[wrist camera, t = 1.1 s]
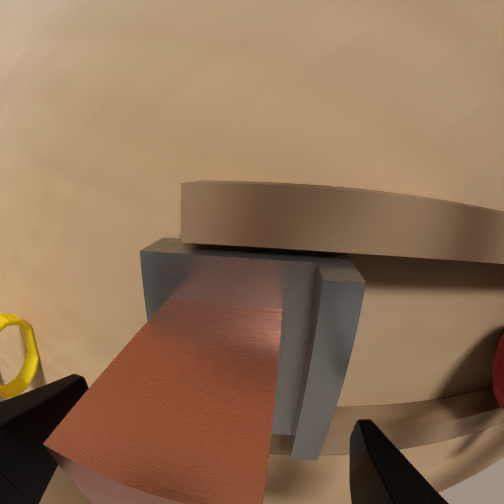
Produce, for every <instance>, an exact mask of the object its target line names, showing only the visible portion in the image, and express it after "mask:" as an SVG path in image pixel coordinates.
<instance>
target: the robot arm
mask: <svg viewBox="0 0 504 504" xmlns="http://www.w3.org/2000/svg"><path fill="white" fill-rule="evenodd" d="M88 389H89V388H88V385H87V383H86V380H85V378H84V377H82V376H80V375H77V374H72V375H70V376H67V377H65V378H62V379H60V380H57V381H55V382H52V383H50V384H47V385H45V386H42V387H39V388H37V389H34V390H32V391H29V392H26V393H24V394H21V395H18V396H16V397H13V398H10V399H7V400H5V401H2V402H0V504H39V502H40V501H41V498H42V496H43V494H44V492H45V490H46V488H47V486H48V484H49V482H50V480H51V478H52V476H53V474H54V472H55V470H56V468H57V466H58V463H57V462H56V461H55V459H54V458H53V457H52V456H51V454H50V453H49V452H48V450H47V449H46V447H45V446H44V445H43V443H44V442H45V441H46V440H47V438H48V437H49V436H50V435H51V434H52V432H53V431H54V430H55V429H56V427H57V426H58V425H59V424H60V422H61V421H62V420H63V419H64V418H65V416H66V415H67V414H68V413H69V412H70V410H71V409H72V408H73V407H74V406H75V404H76V403H77V402H78V401H79V400H80V398H81V397H82V396H83V395H84V394H85V393H86V391H87V390H88ZM350 492H351V501H352V504H449V503H447V502H446V501H445V500H444V499H443V498H442V497H441V495H439V493H438V492H437V491H436V490H434V488H433V487H432V486H431V485H430V484H429V483H428V482H427V481H426V479H425V478H424V477H423V476H422V475H421V474H420V473H419V472H418V471H417V470H416V469H415V467H414V466H413V465H412V464H411V463H410V462H409V461H408V460H407V459H406V458H405V456H404V455H403V454H402V453H401V452H400V451H399V450H398V449H397V448H396V447H395V445H394V444H393V443H392V442H391V441H390V440H389V439H388V438H387V436H386V435H385V434H384V433H383V432H382V431H381V430H380V429H379V427H378V426H377V425H376V424H375V423H374V422H373V421H372V420H371V419H359V420H357V422H356V424H355V426H354V428H353V431H352V433H351V436H350Z"/></svg>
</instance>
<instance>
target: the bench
mask: <svg viewBox="0 0 504 504" xmlns="http://www.w3.org/2000/svg"><path fill="white" fill-rule="evenodd" d="M181 234H182V243H198V244H215V245H231V246H248V247H264V248H280V249H295V250H311V251H327V252H342V253H357V254H372V255H386V256H401V257H415V258H430V259H444V260H458V261H471V262H485V263H498V264H504V212H502V211H497V210H492V209H488V208H483V207H478V206H472V205H467V204H462V203H456V202H450V201H445V200H438V199H432V198H426V197H419V196H412V195H405V194H397V193H389V192H381V191H372V190H363V189H353V188H343V187H332V186H319V185H305V184H289V183H270V182H242V181H194V182H186V183H181ZM359 419H371V420H372V421H373V422H374V423H375V424H376V425H377V426H378V427H379V429H380V430H381V431H382V432H383V433H384V434H385V435H386V436H387V438H388V439H389V440H390V441H391V442H392V443H393V444H394V445H395V447H396V448H397V449H398V450H399V449H405V448H411V447H417V446H422V445H427V444H432V443H437V442H441V441H445V440H449V439H453V438H457V437H461V436H464V435H468V434H471V433H474V432H478V431H481V430H484V429H487V428H490V427H492V426H495V425H498V424H501V423H503V422H504V410H503V409H502V408H501V407H500V406H499V404H498V402H497V399H496V397H495V395H494V392H493V388H490V389H486V390H482V391H477V392H473V393H468V394H463V395H458V396H453V397H447V398H441V399H435V400H428V401H421V402H413V403H403V404H393V405H380V406H361V407H336V409H335V412H334V415H333V418H332V421H331V424H330V427H329V430H328V433H327V436H326V438H325V441H324V444H323V447H322V449H321V452H320V455H349V454H350V436H351V433H352V431H353V428H354V426H355V424H356V422H357V420H359ZM290 446H291V435H284V434H271V441H270V449H269V454H283V455H290Z"/></svg>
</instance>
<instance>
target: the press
mask: <svg viewBox="0 0 504 504" xmlns="http://www.w3.org/2000/svg"><path fill="white" fill-rule="evenodd" d="M140 258H141V269H142V280H143V289H144V297H145V305H146V313H147V320H148V322H147V323H146V324H145V325H144V326H143V327H142V328H141V330H140V331H139V332H138V333H137V334H136V335H135V336H134V337H133V338H132V340H131V341H130V342H129V343H128V344H127V345H126V346H125V347H124V349H123V350H122V351H121V352H120V353H119V354H118V355H117V357H116V358H115V359H114V360H113V361H112V362H111V363H110V365H109V366H108V367H107V368H106V369H105V370H104V372H103V373H102V374H101V375H100V376H99V377H98V378H97V380H96V381H95V382H94V383H93V384H92V385H91V387H90V388H89V389H88V390H87V391H86V393H85V394H84V395H83V396H82V397H81V398H80V400H79V401H78V402H77V403H76V404H75V406H74V407H73V408H72V409H71V410H70V412H69V413H68V414H67V415H66V416H65V418H64V419H63V420H62V421H61V422H60V424H59V425H58V426H57V427H56V429H55V430H54V431H53V432H52V434H51V435H50V436H49V437H48V438H47V440H46V441H45V442H44V443H43V445H44V446H45V447H46V449H47V450H48V452H49V453H50V454H51V456H52V457H53V458H54V459H55V461H56V462H57V463H58V465H59V466H60V467H61V468H62V470H63V471H64V472H65V473H66V474H67V475H68V477H69V478H70V479H71V480H72V481H73V482H74V484H75V485H76V486H77V487H78V488H79V489H80V490H81V491H82V492H83V493H84V495H85V496H86V497H87V498H88V499H89V500H90V501H91V502H92V503H93V504H262V503H263V496H264V489H265V482H266V474H267V466H268V458H269V449H270V441H271V434H284V435H291V446H290V460H318V457H319V455H320V452H321V449H322V447H323V444H324V441H325V438H326V436H327V433H328V430H329V427H330V424H331V421H332V418H333V415H334V412H335V409H336V406H337V402H338V399H339V396H340V392H341V389H342V386H343V382H344V378H345V375H346V371H347V367H348V364H349V360H350V356H351V352H352V348H353V343H354V339H355V335H356V330H357V326H358V321H359V316H360V311H361V306H362V301H363V296H364V290H365V284H366V282H365V280H364V279H363V277H362V276H361V274H360V273H359V271H358V270H357V268H356V266H355V265H354V263H353V262H352V260H351V259H350V257H349V256H348V254H347V253H342V252H327V251H311V250H295V249H280V248H264V247H248V246H231V245H215V244H198V243H182V239H176V238H162V239H160V240H158V241H156V242H154V243H153V244H151V245H149V246H147V247H146V248H144V249H142V250H140Z"/></svg>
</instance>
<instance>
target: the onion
mask: <svg viewBox="0 0 504 504" xmlns="http://www.w3.org/2000/svg"><path fill="white" fill-rule="evenodd" d="M493 392H494V395H495V397H496V399H497V402H498V404H499V406H500V407H501V408H502V409H503V410H504V332H503V335H502V336H501V338H500V341H499V344H498V347H497V350H496V353H495V357H494V363H493Z"/></svg>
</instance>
